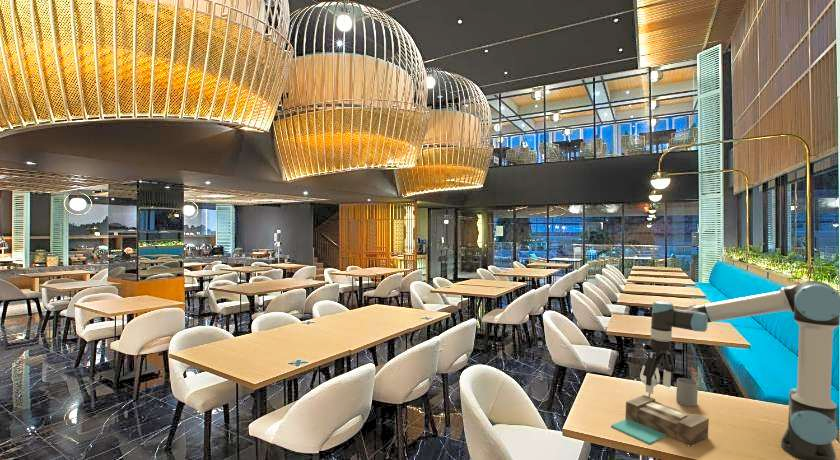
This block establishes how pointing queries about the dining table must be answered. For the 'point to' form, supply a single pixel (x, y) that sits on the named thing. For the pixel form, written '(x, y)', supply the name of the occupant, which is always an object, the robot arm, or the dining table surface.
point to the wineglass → (655, 376)
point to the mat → (638, 431)
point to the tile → (666, 411)
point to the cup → (687, 392)
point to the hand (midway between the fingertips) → (658, 389)
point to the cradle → (668, 421)
